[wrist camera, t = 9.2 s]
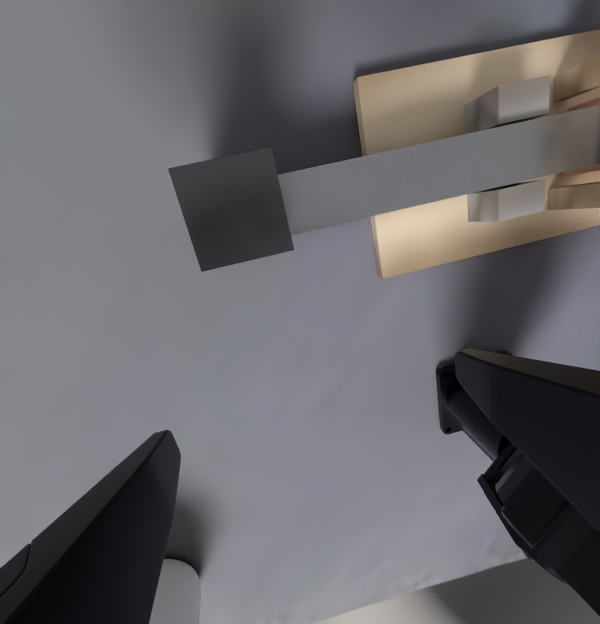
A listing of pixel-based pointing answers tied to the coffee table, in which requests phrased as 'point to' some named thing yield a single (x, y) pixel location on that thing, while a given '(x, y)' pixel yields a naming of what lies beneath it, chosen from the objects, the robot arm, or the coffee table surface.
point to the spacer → (593, 167)
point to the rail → (441, 118)
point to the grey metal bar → (366, 183)
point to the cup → (177, 595)
